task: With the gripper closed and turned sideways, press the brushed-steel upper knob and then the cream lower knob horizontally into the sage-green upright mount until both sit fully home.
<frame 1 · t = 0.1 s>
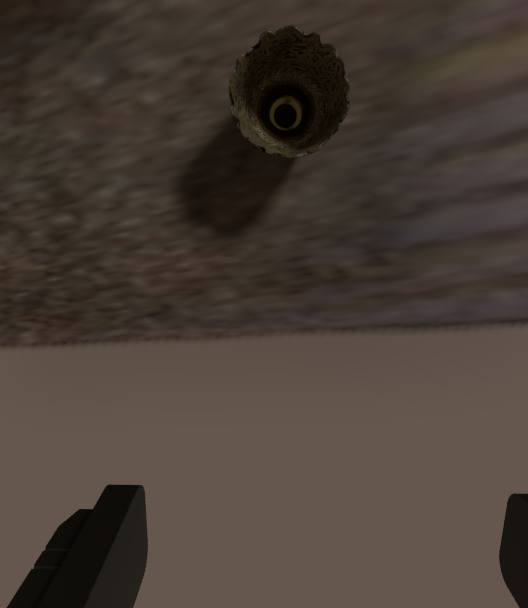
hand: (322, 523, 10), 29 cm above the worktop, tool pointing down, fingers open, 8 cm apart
cup: (285, 116, 36), on the worktop
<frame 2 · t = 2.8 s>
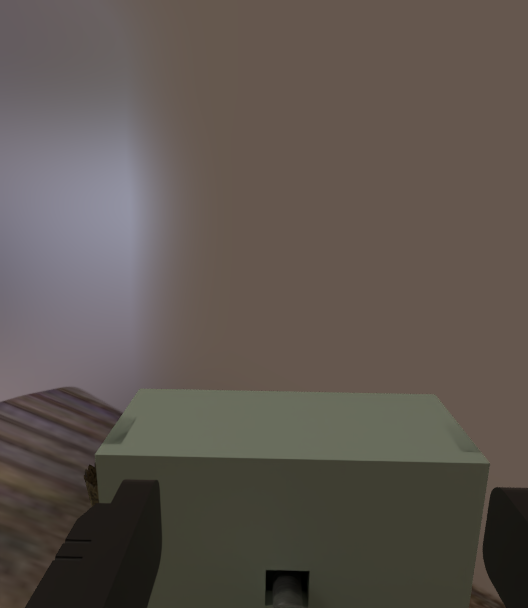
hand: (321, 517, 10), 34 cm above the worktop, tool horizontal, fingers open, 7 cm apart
cup: (120, 524, 58), on the worktop
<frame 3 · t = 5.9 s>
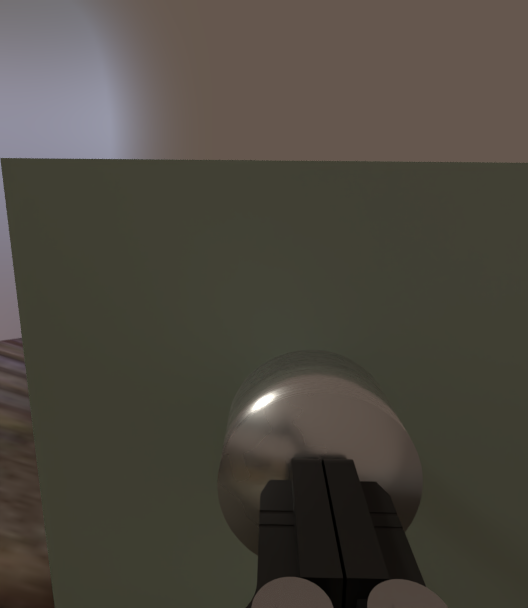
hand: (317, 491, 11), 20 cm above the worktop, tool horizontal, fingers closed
upper knob: (307, 418, 14), point 20 cm above the worktop, slide at 0.8 cm, touching gripper
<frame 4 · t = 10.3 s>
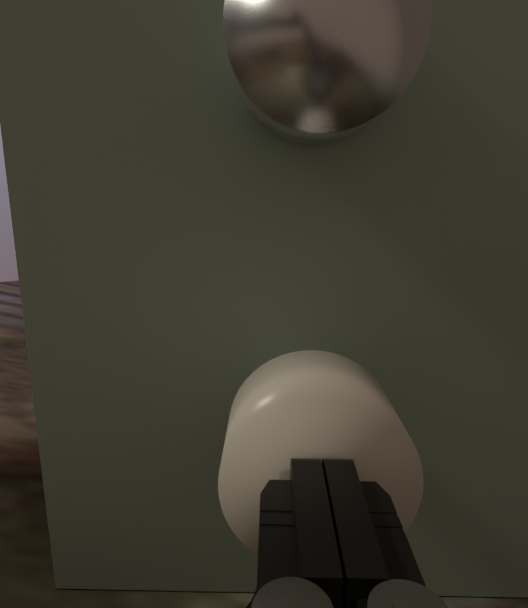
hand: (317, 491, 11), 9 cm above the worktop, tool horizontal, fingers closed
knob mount: (292, 524, 23), on the worktop
upper knob: (313, 62, 14), point 20 cm above the worktop, slide at 3.1 cm
lower knob: (308, 419, 14), point 9 cm above the worktop, slide at 0.6 cm, touching gripper
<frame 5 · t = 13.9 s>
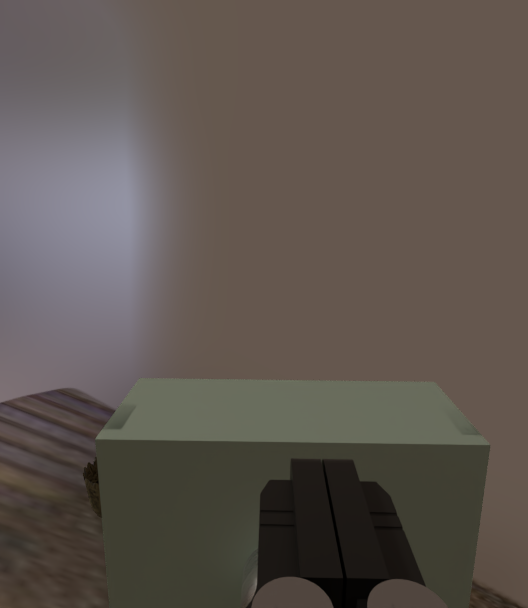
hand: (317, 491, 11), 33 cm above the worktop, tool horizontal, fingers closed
upper knob: (288, 569, 25), point 20 cm above the worktop, slide at 3.1 cm
cup: (120, 522, 57), on the worktop
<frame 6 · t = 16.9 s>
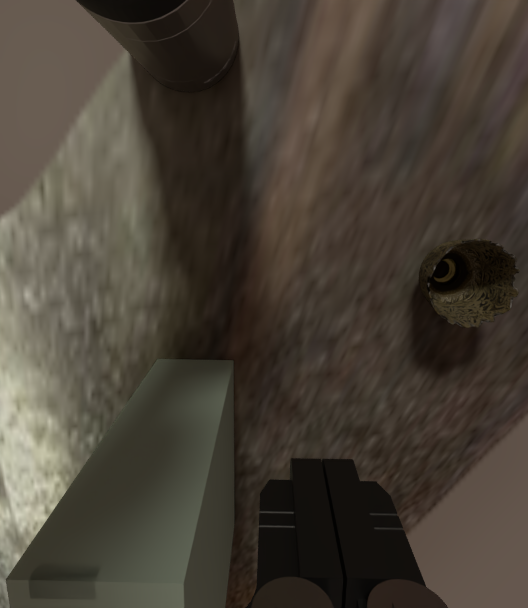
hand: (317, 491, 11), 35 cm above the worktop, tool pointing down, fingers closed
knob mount: (197, 445, 50), on the worktop
cup: (439, 269, 45), on the worktop
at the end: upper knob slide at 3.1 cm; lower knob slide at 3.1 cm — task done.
